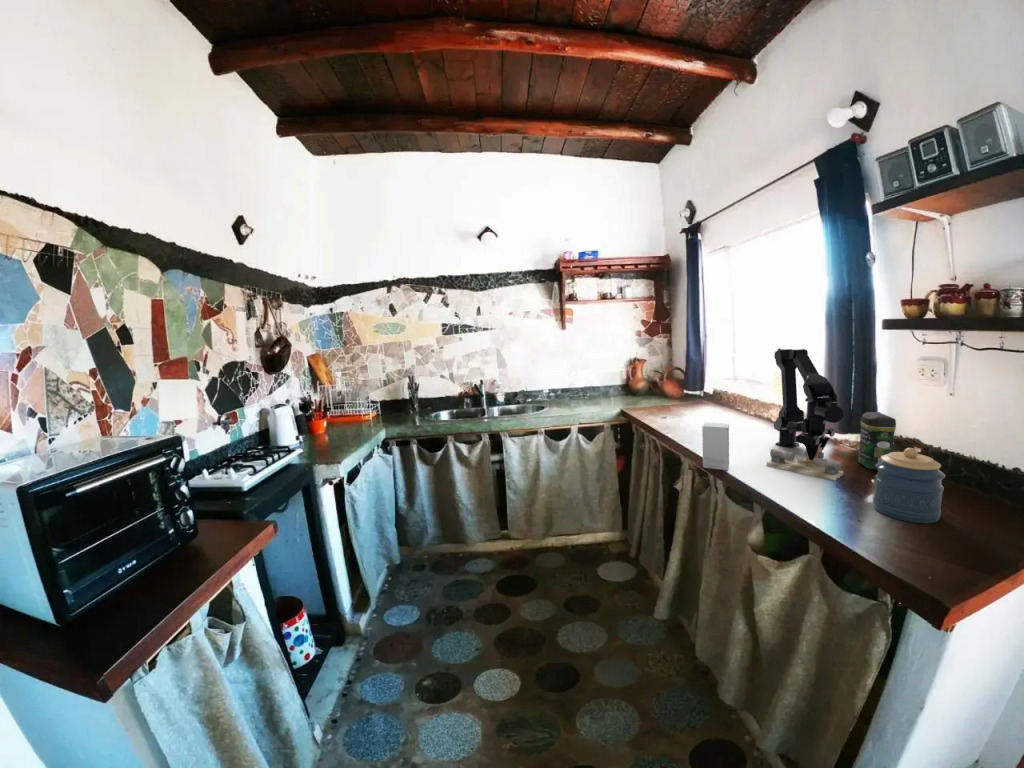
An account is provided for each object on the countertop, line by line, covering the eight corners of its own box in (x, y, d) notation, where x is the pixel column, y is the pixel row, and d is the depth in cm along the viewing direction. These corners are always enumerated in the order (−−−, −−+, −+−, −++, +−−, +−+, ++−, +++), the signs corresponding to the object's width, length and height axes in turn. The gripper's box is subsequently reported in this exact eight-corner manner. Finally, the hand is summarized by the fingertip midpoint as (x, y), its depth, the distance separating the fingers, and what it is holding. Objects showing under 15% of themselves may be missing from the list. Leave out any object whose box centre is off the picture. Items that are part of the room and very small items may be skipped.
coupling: (803, 460, 150) (803, 447, 149) (808, 457, 152) (809, 444, 152) (819, 464, 146) (820, 450, 145) (824, 461, 148) (825, 447, 148)
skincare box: (729, 465, 149) (730, 423, 146) (727, 471, 143) (728, 427, 141) (703, 462, 153) (704, 421, 151) (701, 467, 148) (702, 425, 145)
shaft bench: (766, 465, 147) (767, 451, 146) (776, 460, 152) (777, 446, 151) (834, 480, 131) (835, 465, 130) (843, 474, 136) (844, 459, 135)
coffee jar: (853, 460, 147) (857, 410, 145) (881, 462, 145) (885, 410, 142) (866, 470, 138) (871, 416, 135) (896, 472, 136) (901, 416, 133)
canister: (880, 519, 106) (886, 453, 104) (866, 499, 117) (871, 439, 115) (950, 528, 100) (958, 458, 98) (928, 506, 111) (934, 443, 109)
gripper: (801, 408, 158) (799, 448, 161) (779, 416, 148) (777, 458, 150) (836, 413, 149) (833, 454, 152) (816, 422, 139) (813, 466, 141)
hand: (813, 458), depth 149 cm, fingers closed on coupling, 5 cm apart
